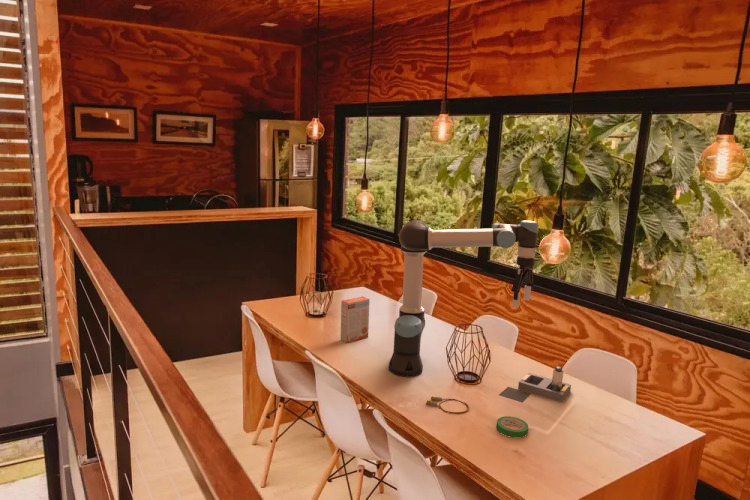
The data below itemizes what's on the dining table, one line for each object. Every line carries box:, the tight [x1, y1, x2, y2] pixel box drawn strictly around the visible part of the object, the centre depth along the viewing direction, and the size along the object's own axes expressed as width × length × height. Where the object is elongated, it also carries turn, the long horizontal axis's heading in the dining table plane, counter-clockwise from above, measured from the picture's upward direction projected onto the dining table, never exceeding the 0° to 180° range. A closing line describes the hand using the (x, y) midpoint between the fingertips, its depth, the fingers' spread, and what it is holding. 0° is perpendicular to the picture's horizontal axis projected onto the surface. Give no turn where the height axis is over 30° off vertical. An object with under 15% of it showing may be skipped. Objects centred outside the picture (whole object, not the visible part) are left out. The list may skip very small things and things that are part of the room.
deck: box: [498, 386, 532, 403], centre depth 225 cm, size 10×10×1 cm
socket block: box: [517, 372, 572, 403], centre depth 230 cm, size 12×18×4 cm, turn 55°
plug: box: [551, 366, 564, 392], centre depth 226 cm, size 4×4×11 cm
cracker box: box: [340, 296, 370, 344], centre depth 278 cm, size 14×6×21 cm, turn 130°
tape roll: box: [495, 415, 529, 438], centre depth 199 cm, size 11×11×3 cm
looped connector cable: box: [425, 396, 470, 415], centre depth 215 cm, size 12×16×2 cm
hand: (521, 303), depth 244 cm, fingers open, 13 cm apart
